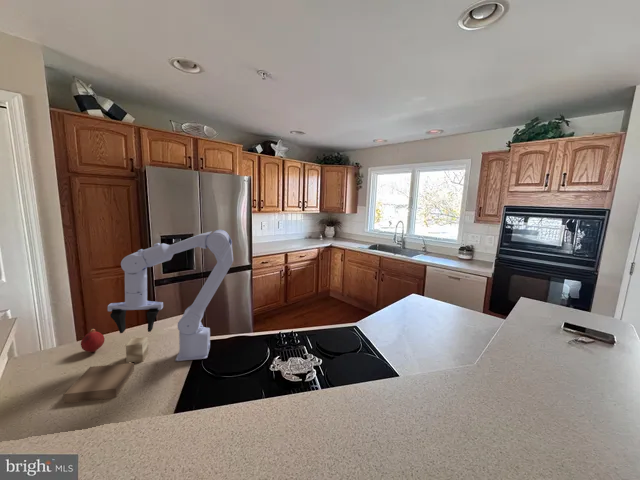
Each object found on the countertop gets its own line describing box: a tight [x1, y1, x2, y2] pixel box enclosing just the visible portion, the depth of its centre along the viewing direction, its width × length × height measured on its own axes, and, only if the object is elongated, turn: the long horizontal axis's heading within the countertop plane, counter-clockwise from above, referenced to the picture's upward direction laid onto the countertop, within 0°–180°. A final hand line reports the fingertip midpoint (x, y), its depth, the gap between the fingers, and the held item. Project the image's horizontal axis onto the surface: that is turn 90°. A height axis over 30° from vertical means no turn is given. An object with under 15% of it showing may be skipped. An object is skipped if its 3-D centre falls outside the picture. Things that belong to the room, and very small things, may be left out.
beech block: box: [125, 336, 149, 364], centre depth 82 cm, size 4×4×6 cm
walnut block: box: [63, 363, 135, 404], centre depth 70 cm, size 11×11×3 cm
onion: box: [80, 328, 106, 353], centre depth 84 cm, size 6×6×8 cm
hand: (136, 331), depth 82 cm, fingers open, 7 cm apart
